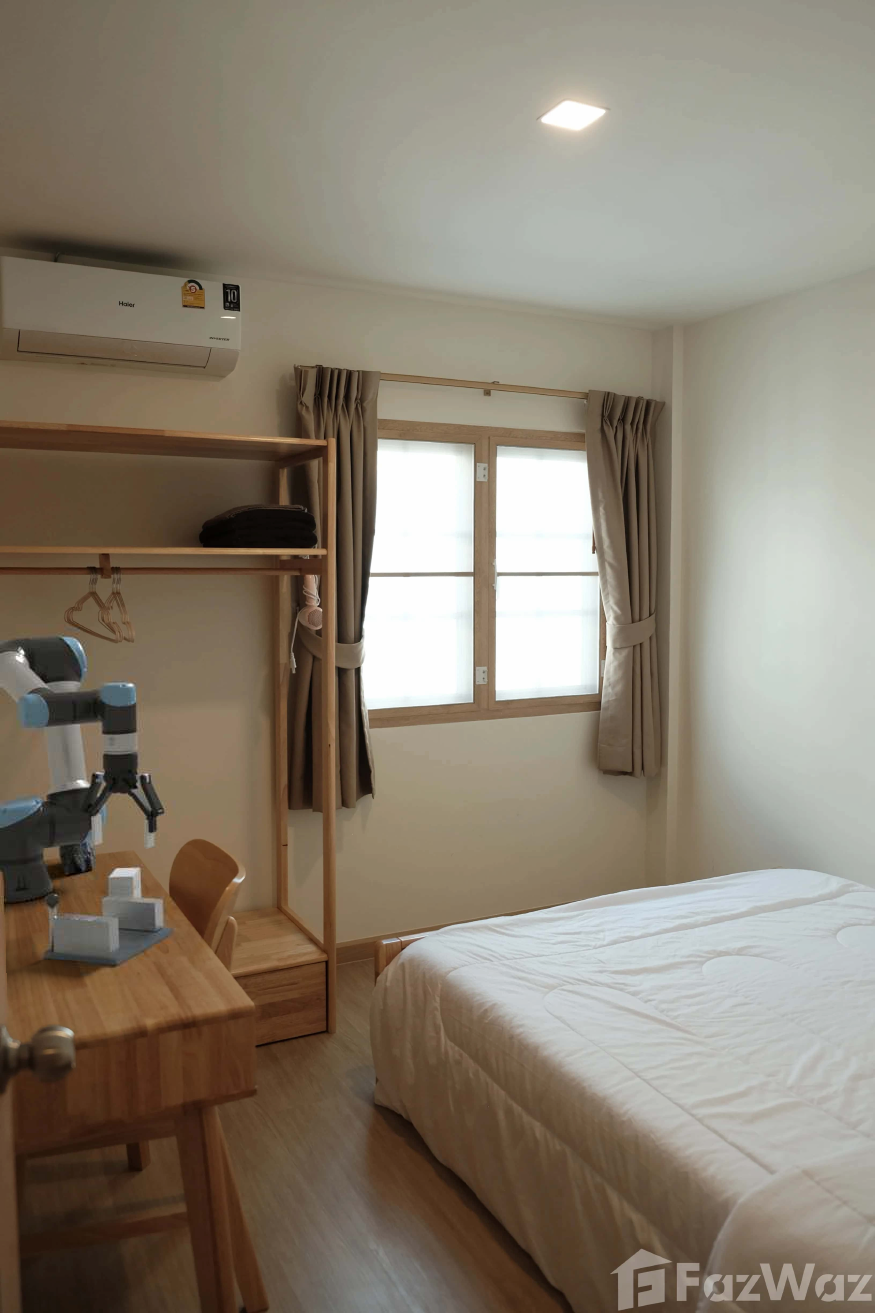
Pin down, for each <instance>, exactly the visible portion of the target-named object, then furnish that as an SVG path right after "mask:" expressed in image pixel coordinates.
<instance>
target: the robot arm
mask: <svg viewBox="0 0 875 1313" xmlns="http://www.w3.org/2000/svg"><path fill="white" fill-rule="evenodd" d="M87 667H88V664H87V658H86V654H85V650H84V649H83V647H82V644H81V643H80V642H79V641H78V640H77V639H76V638H74V637H71V636H70V637H69V636H48V637H45V636H44V637H15V638H11V639H7V640H5V641H2V642H1V643H0V688H1V689H4V690H5V691H6V692H7V693H8V694H9V696H10V698H12V699H13V700H14V701H15V702H16V703H17V704H16V713H17V714H16V715H17V718H18V722H19V725H20V726H22V727H23V728H25V729H32V728H33V729H34V728H35V729H42V728H44V733H45V742H46V749H47V759H48V766H49V775H50V784H51V787H50V789H49V790H48V791H47V792H46V801H43V799H42V797H40V796H38V795H36V796H35V795H31V796H23V797H17V798H13V799H9V800H6V801H3V802H0V871H1V872H2V873H3V881H4V903H6V904H8V903H19V902H26V900H28V901H31V900H30V899H33V898H37V899H39V898H38V897H41V896H43V897H45V896H44V895H46V896H47V894H48V895H49V893H50V892H51V893H53V881H52V878H51V877H50V874H49V871H48V868H47V866H46V863H45V857H44V850H45V849H50V848H57V847H59V846H64V845H70V844H77V843H79V844H81V843H84V842H88V841H92V845H93V846H97V845H100V844H102V843H103V830H104V827H105V823H106V803H107V801H108V800H109V798H110V797H111V796H112V794H122V795H126V794H127V795H128V797H131V798H132V799H133V801H134V802H135V803H136V805H137V806H138V808H140V811H142V813H143V814H144V816H145V817H146V818H143V832H144V833H143V834H144V836H143V837H144V849H150V848H152V847H154V846H155V833H156V832H157V830H158V824H157V821H158V820H157V818H158V817H159V816H162V815H164V814H165V809H164V806H163V805H162V803H161V800H160V797H159V796H158V793H157V792H156V789H155V788H154V785H153V783H152V777H151V776H152V775H151V773H149V772H147V773H143V774H138V768H139V757H138V756H139V754H138V752H137V751H136V750H137V749H139V748H138V747H139V746H138V729H137V727H138V724H137V720H138V718H137V701H138V700H137V699H138V698H137V694H136V686H135V685H134V684H133V683H132V682H109V683H103V684H102V685H101V686H100V688H94V689H91V690H79V689H80V687H81V686H82V682H81V681H82V680H84V679H85V678H86V675H87ZM97 723H98V724H99V723H100V724H101V743H102V751H103V752H104V753H103V754H102V769H103V770H104V773H103V772H102V771H97V772H93V773H92V774H91V779H90V780H91V781H90V782H88V780H87V772H86V763H85V762H86V760H85V755H84V754H85V753H84V748H83V747H84V746H83V739H82V732H81V725H86V724H87V725H88V724H97ZM103 781H104V783H105V786H104V787H103V788H102V790H101V793H100V794H99V791H100V789H101V787H102V784H103ZM138 784H140V786H139V785H138ZM51 893H50V894H51ZM41 898H42V897H41ZM5 899H6V901H5ZM33 900H34V899H33ZM4 903H3V904H4Z"/></svg>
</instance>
